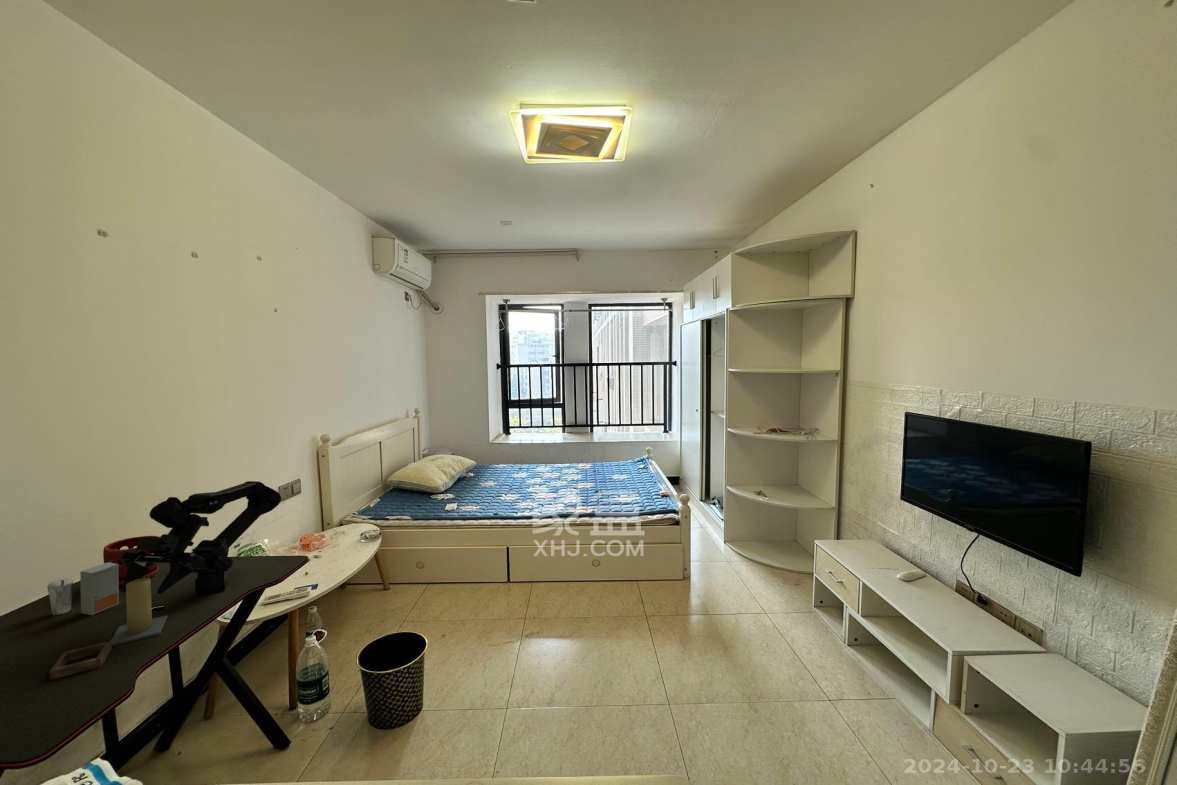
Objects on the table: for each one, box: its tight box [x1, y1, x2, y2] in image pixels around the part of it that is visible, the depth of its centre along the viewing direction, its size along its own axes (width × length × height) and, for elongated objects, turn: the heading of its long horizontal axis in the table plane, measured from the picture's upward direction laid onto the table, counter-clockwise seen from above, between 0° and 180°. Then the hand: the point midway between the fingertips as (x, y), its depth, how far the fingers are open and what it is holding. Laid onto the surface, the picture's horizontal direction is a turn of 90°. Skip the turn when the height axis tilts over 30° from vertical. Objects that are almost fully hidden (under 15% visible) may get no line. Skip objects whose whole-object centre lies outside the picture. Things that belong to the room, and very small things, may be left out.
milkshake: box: [46, 577, 74, 616], centre depth 118 cm, size 4×5×10 cm
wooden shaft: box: [125, 577, 153, 634], centre depth 110 cm, size 4×4×12 cm
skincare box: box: [79, 562, 120, 616], centre depth 120 cm, size 6×4×12 cm
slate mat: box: [110, 615, 168, 647], centre depth 111 cm, size 9×9×1 cm
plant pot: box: [102, 535, 161, 586], centre depth 137 cm, size 13×13×12 cm
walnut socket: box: [48, 640, 113, 681], centre depth 98 cm, size 8×8×2 cm
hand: (141, 593), depth 111 cm, fingers open, 9 cm apart
